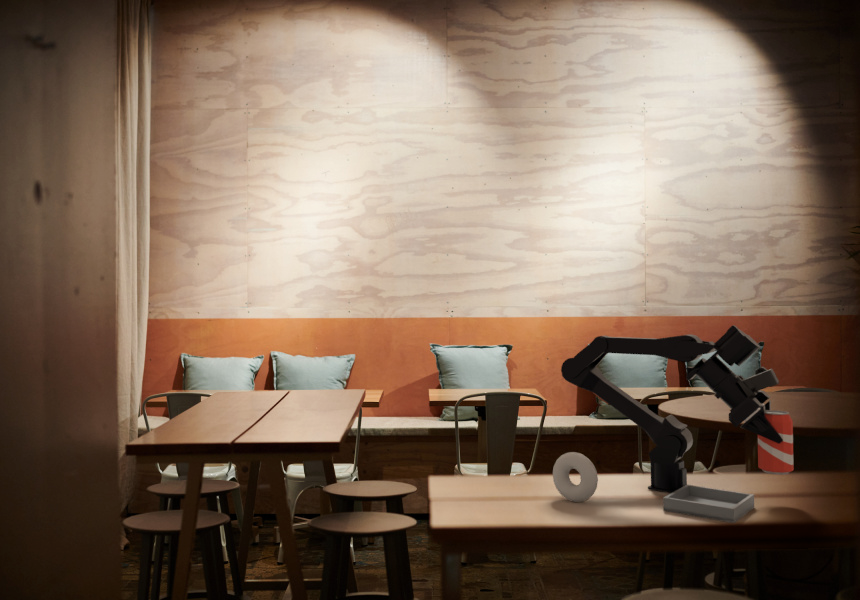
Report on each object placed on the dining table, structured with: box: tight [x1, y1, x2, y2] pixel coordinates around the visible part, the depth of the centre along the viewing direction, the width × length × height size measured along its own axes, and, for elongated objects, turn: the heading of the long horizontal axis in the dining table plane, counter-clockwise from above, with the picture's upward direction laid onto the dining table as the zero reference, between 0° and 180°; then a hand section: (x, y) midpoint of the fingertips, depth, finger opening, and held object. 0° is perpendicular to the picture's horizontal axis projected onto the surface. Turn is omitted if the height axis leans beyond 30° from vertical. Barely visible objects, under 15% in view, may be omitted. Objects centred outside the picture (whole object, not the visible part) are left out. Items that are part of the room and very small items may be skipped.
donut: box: [552, 451, 599, 503], centre depth 140 cm, size 10×4×10 cm, turn 47°
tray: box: [662, 484, 755, 524], centre depth 134 cm, size 13×13×2 cm
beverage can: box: [757, 409, 794, 476], centre depth 138 cm, size 6×6×12 cm
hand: (783, 439), depth 137 cm, fingers closed on beverage can, 6 cm apart
